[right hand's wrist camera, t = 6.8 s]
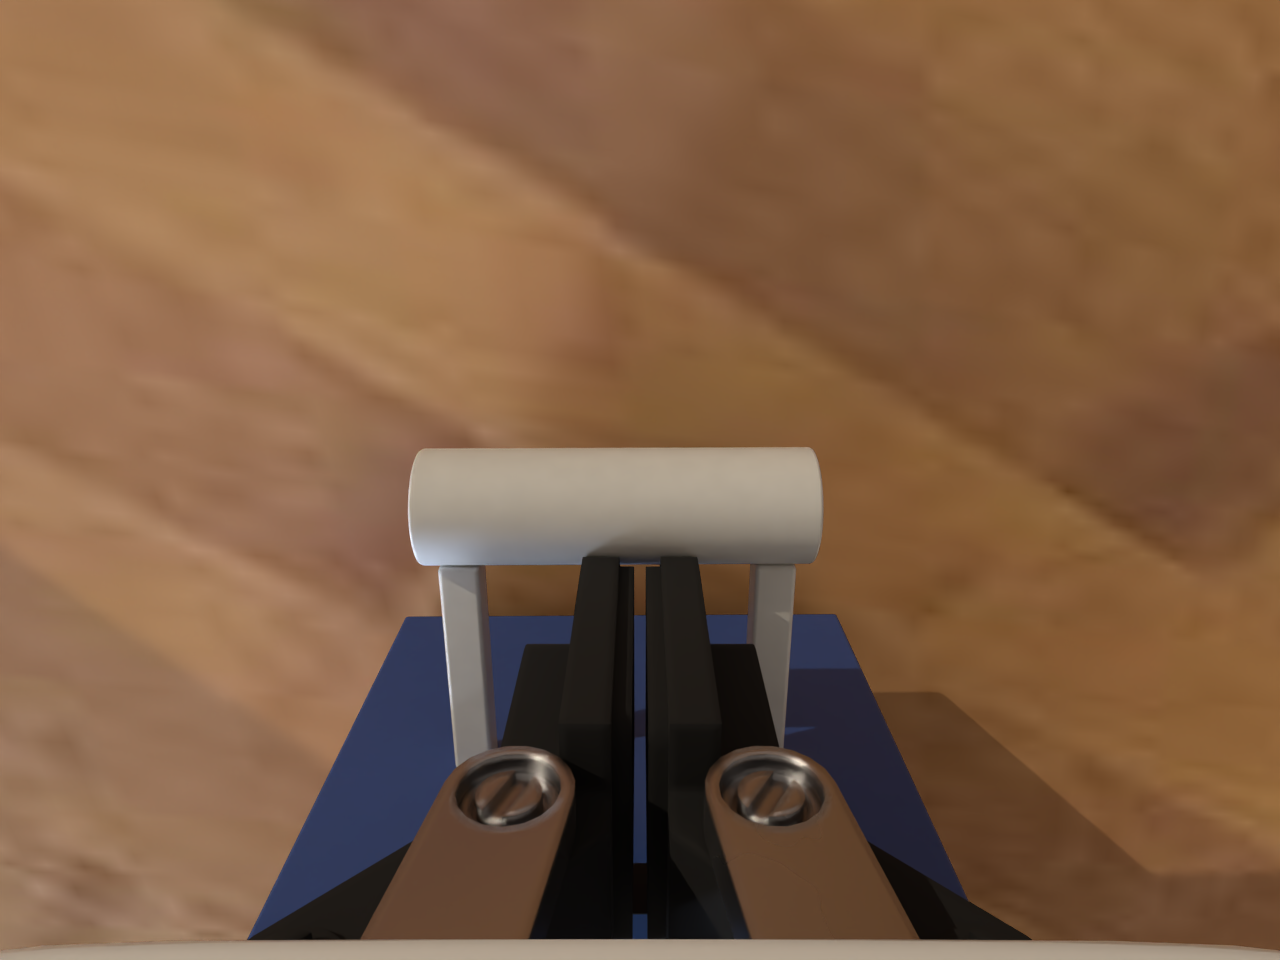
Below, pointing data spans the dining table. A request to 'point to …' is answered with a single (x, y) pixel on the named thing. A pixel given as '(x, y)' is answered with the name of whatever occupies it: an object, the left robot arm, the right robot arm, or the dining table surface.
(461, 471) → the drawer
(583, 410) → the dining table surface
